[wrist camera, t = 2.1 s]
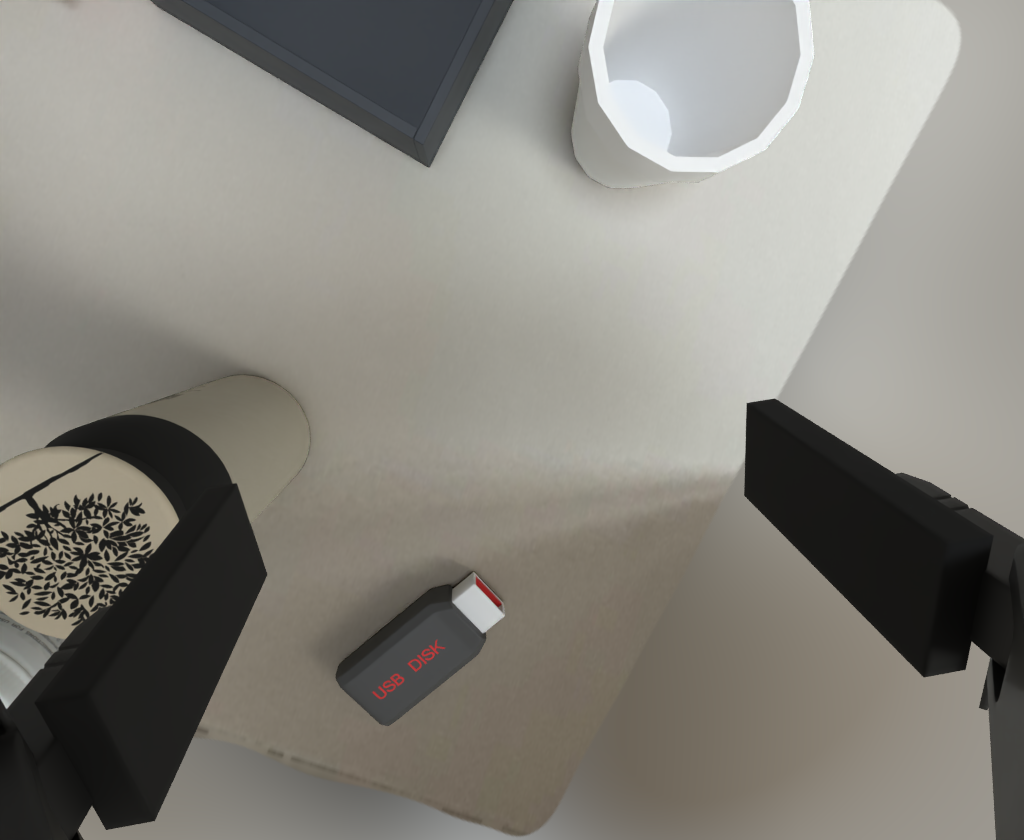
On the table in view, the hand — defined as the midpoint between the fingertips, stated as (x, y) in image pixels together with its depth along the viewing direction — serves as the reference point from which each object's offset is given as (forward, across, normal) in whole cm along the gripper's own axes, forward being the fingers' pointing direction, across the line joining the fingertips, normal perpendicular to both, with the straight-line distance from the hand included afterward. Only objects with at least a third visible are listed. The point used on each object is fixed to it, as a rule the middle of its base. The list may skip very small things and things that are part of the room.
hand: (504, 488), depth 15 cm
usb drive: (+21, -7, -22) cm, 32 cm away
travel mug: (+24, -15, -6) cm, 29 cm away
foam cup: (+26, +11, +9) cm, 30 cm away
